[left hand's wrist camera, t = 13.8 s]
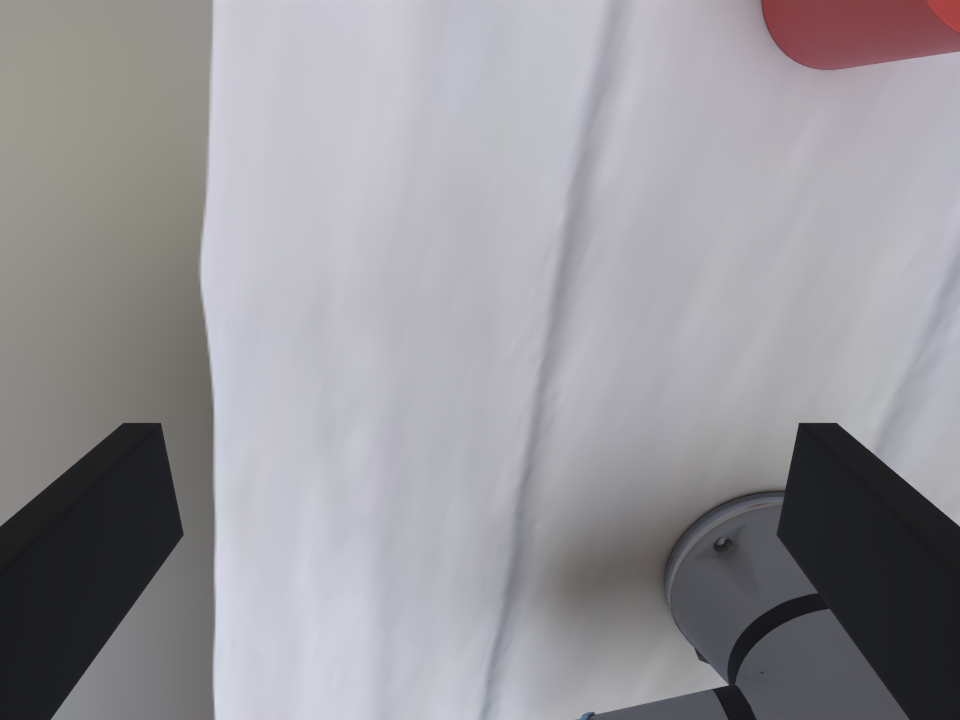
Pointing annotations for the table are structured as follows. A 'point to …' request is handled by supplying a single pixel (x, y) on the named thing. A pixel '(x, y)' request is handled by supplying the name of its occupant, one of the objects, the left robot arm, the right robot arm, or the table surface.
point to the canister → (862, 30)
